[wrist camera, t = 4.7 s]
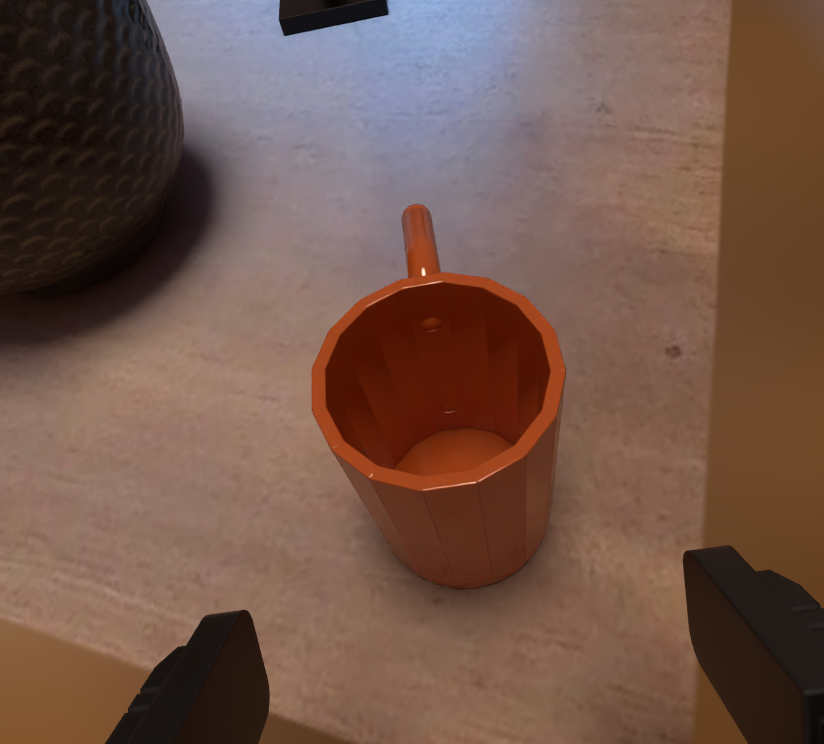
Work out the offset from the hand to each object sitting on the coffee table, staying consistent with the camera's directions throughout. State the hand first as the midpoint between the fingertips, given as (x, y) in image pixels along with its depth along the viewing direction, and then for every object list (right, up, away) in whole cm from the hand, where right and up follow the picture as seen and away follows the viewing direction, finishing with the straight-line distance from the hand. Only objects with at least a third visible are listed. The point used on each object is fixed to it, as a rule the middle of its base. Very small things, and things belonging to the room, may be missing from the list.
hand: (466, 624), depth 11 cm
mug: (+1, +1, +15) cm, 15 cm away
